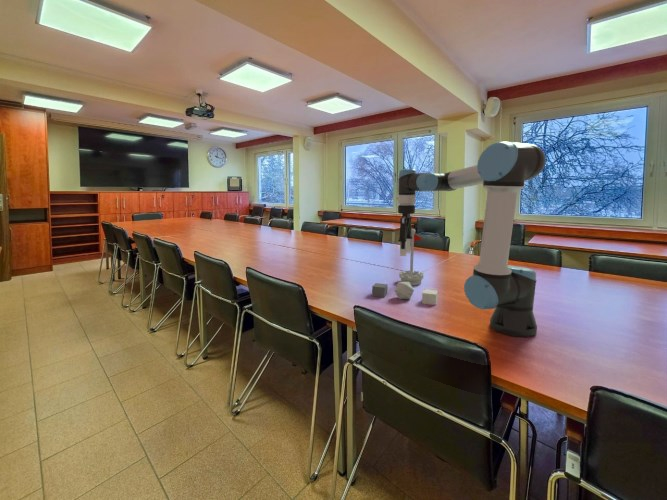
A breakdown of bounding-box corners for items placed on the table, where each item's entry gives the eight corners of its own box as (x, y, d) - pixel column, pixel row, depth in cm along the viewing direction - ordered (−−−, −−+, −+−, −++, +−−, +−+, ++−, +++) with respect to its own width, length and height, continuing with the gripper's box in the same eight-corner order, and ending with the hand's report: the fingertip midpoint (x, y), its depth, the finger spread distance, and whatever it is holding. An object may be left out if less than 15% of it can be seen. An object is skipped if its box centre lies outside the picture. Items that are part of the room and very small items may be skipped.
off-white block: (435, 305, 148) (436, 294, 147) (421, 303, 150) (422, 293, 149) (437, 301, 153) (437, 290, 153) (423, 299, 156) (424, 289, 155)
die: (409, 304, 152) (419, 285, 153) (392, 294, 152) (402, 276, 154) (405, 304, 160) (414, 287, 161) (389, 295, 160) (399, 278, 162)
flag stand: (397, 284, 180) (399, 229, 175) (400, 278, 192) (401, 227, 187) (422, 286, 176) (424, 230, 171) (423, 280, 189) (425, 227, 183)
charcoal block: (384, 297, 159) (384, 287, 158) (372, 296, 162) (372, 286, 161) (387, 294, 165) (387, 284, 164) (375, 292, 167) (375, 283, 166)
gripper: (403, 203, 161) (401, 249, 165) (392, 205, 142) (391, 257, 146) (418, 203, 158) (417, 250, 162) (410, 205, 139) (408, 259, 143)
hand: (405, 254), depth 154 cm, fingers open, 8 cm apart
